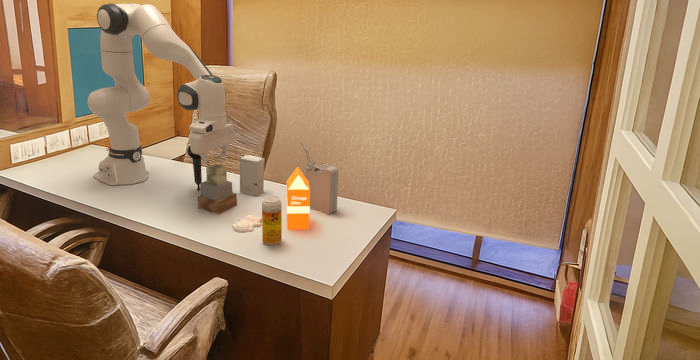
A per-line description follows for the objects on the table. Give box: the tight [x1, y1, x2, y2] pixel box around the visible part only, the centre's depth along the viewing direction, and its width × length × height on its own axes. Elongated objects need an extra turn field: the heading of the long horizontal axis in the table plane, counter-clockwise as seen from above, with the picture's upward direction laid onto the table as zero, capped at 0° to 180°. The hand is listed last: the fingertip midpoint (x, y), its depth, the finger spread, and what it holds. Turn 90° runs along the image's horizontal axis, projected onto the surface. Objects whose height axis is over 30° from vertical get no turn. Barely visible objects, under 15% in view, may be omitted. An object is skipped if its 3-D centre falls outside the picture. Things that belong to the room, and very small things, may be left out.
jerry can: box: [300, 141, 339, 215], centre depth 178 cm, size 15×5×25 cm, turn 54°
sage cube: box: [205, 163, 228, 186], centre depth 174 cm, size 5×5×6 cm
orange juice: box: [286, 166, 311, 230], centre depth 164 cm, size 8×9×20 cm
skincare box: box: [239, 154, 265, 197], centre depth 191 cm, size 8×6×15 cm
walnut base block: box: [196, 192, 238, 215], centre depth 177 cm, size 10×10×5 cm
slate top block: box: [199, 180, 233, 201], centre depth 175 cm, size 8×8×5 cm
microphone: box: [186, 145, 203, 192], centre depth 189 cm, size 7×7×20 cm
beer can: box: [261, 195, 283, 247], centre depth 151 cm, size 6×6×15 cm
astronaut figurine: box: [231, 213, 262, 234], centre depth 164 cm, size 9×12×3 cm
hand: (214, 160), depth 172 cm, fingers open, 8 cm apart
